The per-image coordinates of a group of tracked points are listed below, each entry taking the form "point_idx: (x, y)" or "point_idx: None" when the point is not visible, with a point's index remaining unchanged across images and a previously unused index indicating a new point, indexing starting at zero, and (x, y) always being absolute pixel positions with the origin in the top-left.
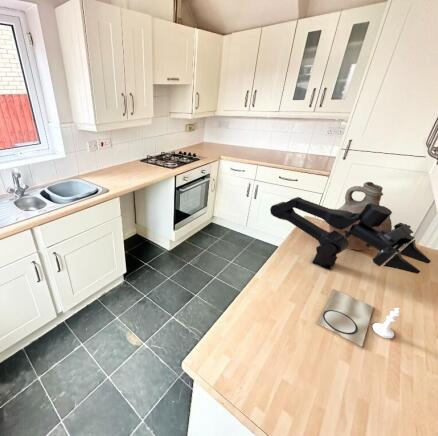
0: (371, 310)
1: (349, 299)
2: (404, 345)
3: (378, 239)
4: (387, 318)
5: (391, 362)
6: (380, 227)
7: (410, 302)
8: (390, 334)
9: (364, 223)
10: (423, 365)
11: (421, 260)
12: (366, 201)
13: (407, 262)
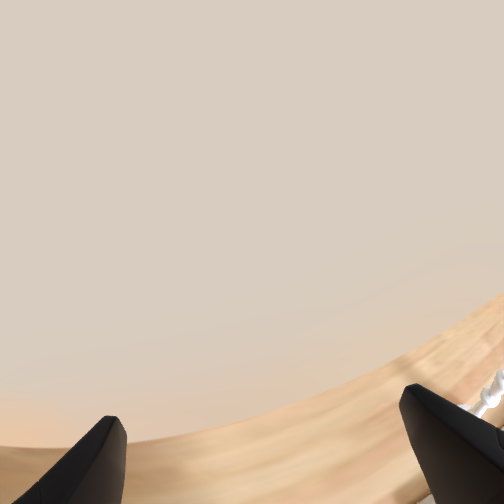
0: (432, 495)
1: None
2: (441, 387)
3: None
4: (499, 398)
5: (496, 362)
6: None
7: (216, 486)
8: (462, 407)
9: None
10: (443, 347)
11: (119, 477)
12: None
13: (493, 441)
